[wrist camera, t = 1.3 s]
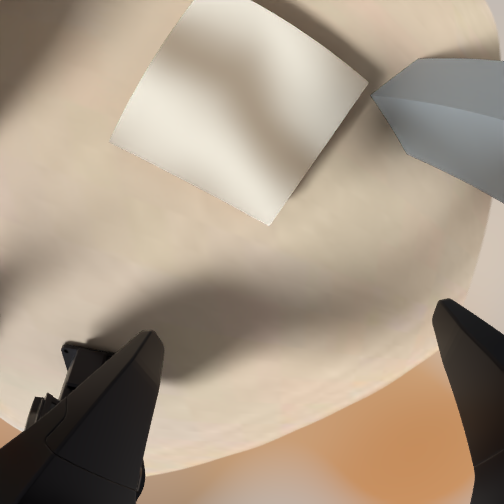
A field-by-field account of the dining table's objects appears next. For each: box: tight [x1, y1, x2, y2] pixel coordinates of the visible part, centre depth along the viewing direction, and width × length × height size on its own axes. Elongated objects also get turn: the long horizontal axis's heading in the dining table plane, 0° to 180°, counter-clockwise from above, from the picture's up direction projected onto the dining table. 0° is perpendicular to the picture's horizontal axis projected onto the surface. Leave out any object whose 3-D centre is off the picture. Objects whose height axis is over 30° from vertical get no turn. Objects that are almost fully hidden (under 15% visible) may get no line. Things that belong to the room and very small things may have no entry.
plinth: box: [109, 0, 369, 226], centre depth 15 cm, size 10×10×2 cm
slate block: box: [370, 58, 504, 203], centre depth 12 cm, size 5×5×12 cm
